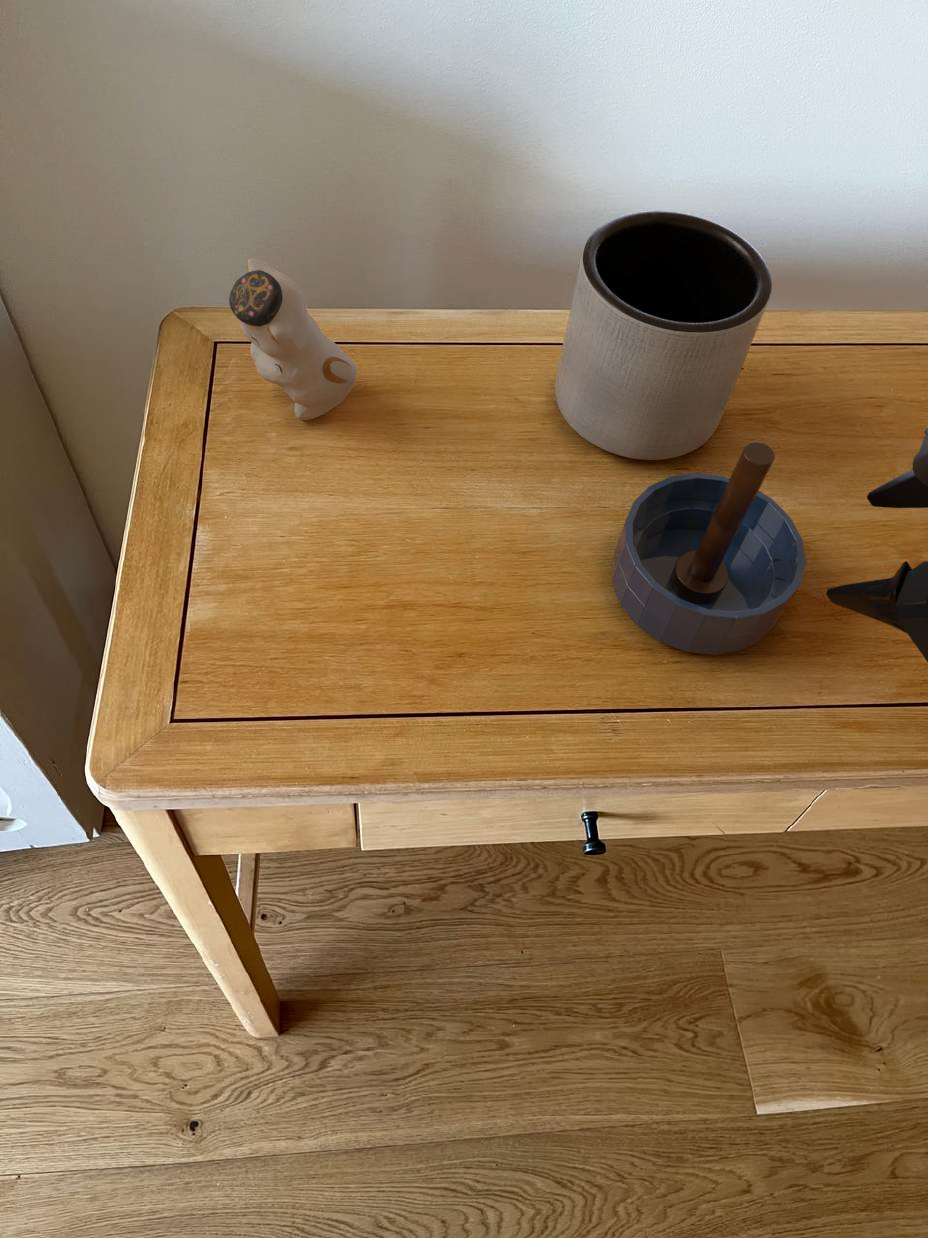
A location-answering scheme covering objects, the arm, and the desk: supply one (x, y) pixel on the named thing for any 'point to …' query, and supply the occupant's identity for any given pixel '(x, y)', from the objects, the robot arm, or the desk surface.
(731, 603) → the bowl
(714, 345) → the planter
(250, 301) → the figurine
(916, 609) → the robot arm
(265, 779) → the desk surface
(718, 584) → the stirring stick
